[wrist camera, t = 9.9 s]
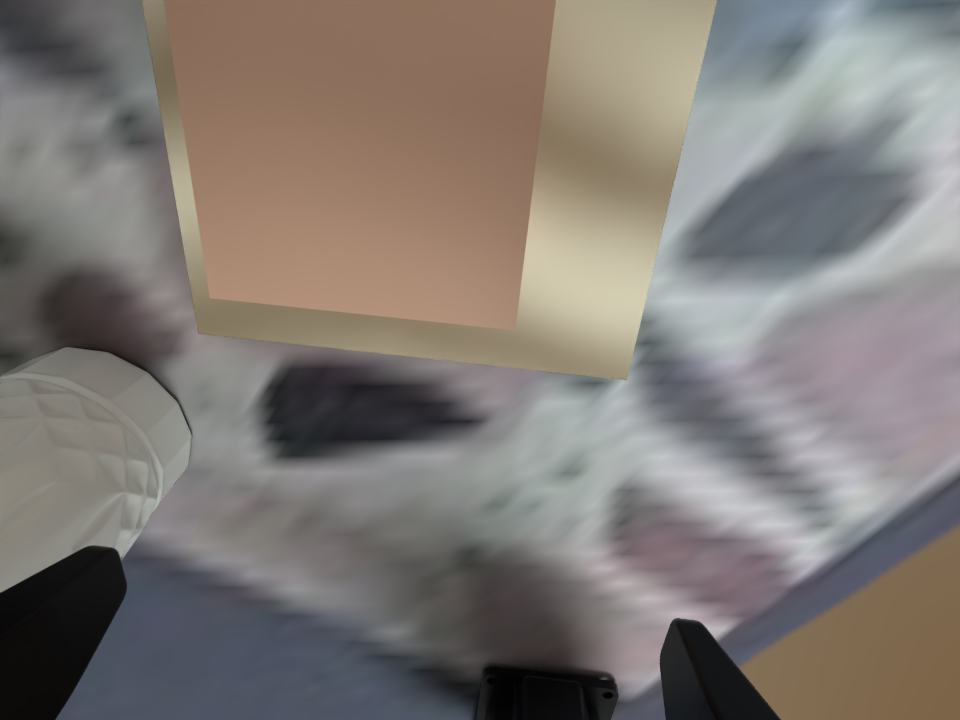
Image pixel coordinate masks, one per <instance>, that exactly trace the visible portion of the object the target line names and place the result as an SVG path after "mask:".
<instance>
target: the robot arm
mask: <svg viewBox="0 0 960 720" xmlns="http://www.w3.org/2000/svg"><path fill="white" fill-rule="evenodd" d="M126 590H127V580H126V576H125V573H124V569H123V566H122V562H121V558H120V555H119V552H118V551H117V550H116V549H115V548H112V547H105V546H97V545H91V546H87V547H84V548H82V549H80V550H78V551H77V552H75V553H73V554H71V555H69V556H67V557H65V558H64V559H62V560H60V561H58V562H56V563H54V564H52V565H51V566H49V567H47V568H45V569H43V570H41V571H39V572H38V573H36V574H34V575H32V576H30V577H28V578H27V579H25V580H23V581H21V582H19V583H17V584H15V585H14V586H12V587H10V588H8V589H6V590H4V591H2V592H1V593H0V720H55V719H56V718H57V716H58V715H59V713H60V712H61V710H62V709H63V707H64V705H65V704H66V702H67V701H68V699H69V698H70V696H71V694H72V693H73V691H74V689H75V688H76V686H77V684H78V682H79V681H80V679H81V677H82V675H83V673H84V672H85V670H86V668H87V666H88V664H89V662H90V660H91V659H92V657H93V655H94V653H95V651H96V649H97V648H98V646H99V644H100V642H101V640H102V638H103V636H104V635H105V633H106V631H107V629H108V627H109V625H110V623H111V622H112V620H113V618H114V616H115V614H116V612H117V611H118V609H119V607H120V605H121V603H122V601H123V599H124V597H125V594H126ZM660 672H661V680H662V689H663V698H664V707H665V716H666V720H781V719H780V718H779V717H778V716H777V714H776V713H775V712H774V711H773V710H772V708H771V707H770V706H769V705H768V703H767V702H766V701H765V700H764V699H763V697H762V696H761V695H760V694H759V692H758V691H757V690H756V689H755V687H754V686H753V685H752V684H751V682H750V681H749V680H748V679H747V678H746V676H745V675H744V674H743V673H742V671H741V670H740V669H739V668H738V667H737V665H736V664H735V663H734V662H733V660H732V659H731V658H730V657H729V655H728V654H727V653H726V652H725V651H724V649H723V648H722V647H721V646H720V644H719V643H718V642H717V641H716V640H715V638H714V637H713V636H712V635H711V633H710V632H709V631H708V630H707V628H706V627H705V626H704V625H703V624H702V623H700V622H699V621H695V620H688V619H680V618H676V619H674V620H673V621H672V622H671V624H670V627H669V630H668V632H667V635H666V638H665V641H664V644H663V647H662V650H661V654H660ZM617 699H618V688H617V685H616V683H614V682H612V681H608V680H599V679H591V678H583V677H575V676H567V675H559V674H550V673H542V672H534V671H526V670H518V669H510V668H501V667H486V668H485V669H483V672H482V678H481V685H480V693H479V700H478V707H477V715H476V720H611V717H612V714H613V711H614V708H615V705H616V702H617Z"/></svg>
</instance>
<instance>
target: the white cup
mask: <svg viewBox="0 0 960 720" xmlns="http://www.w3.org/2000/svg"><path fill="white" fill-rule="evenodd" d="M191 438H192V435H191V432H190V430H189V427H188V425H187V423H186V420H185V418H184V416H183V414H182V411H181V409H180V407H179V404H178V402H177V401H176V400H175V399H174V398H173V397H172V396H171V395H170V394H169V393H168V392H167V391H166V390H165V389H164V388H163V387H162V386H161V385H160V384H159V383H158V382H157V381H156V380H155V379H154V378H153V377H152V376H151V375H150V374H149V373H148V372H146V371H144V370H142V369H140V368H138V367H136V366H134V365H133V364H131V363H129V362H127V361H125V360H123V359H121V358H119V357H117V356H115V355H113V354H111V353H109V352H103V351H95V350H87V349H79V348H71V347H65V348H62V349H59V350H56V351H54V352H51V353H48V354H45V355H42V356H39V357H36V358H34V359H31V360H29V361H27V362H25V363H24V364H22V365H20V366H18V367H16V368H14V369H12V370H10V371H8V372H6V373H5V374H3V375H1V376H0V593H1V592H2V591H4V590H6V589H8V588H10V587H12V586H14V585H15V584H17V583H19V582H21V581H23V580H25V579H27V578H28V577H30V576H32V575H34V574H36V573H38V572H39V571H41V570H43V569H45V568H47V567H49V566H51V565H52V564H54V563H56V562H58V561H60V560H62V559H64V558H65V557H67V556H69V555H71V554H73V553H75V552H77V551H78V550H80V549H82V548H84V547H87V546H91V545H97V546H105V547H112V548H115V549H116V550H117V551H118V552H119V555H120V558H121V561H122V559H123V558H124V556H125V555H126V553H127V552H128V551H129V549H130V548H131V546H132V545H133V544H134V542H135V541H136V539H137V538H138V536H139V535H140V533H141V532H142V531H143V530H144V528H145V527H146V524H147V522H148V519H149V518H150V516H151V514H152V512H153V511H154V510H155V509H156V507H157V506H158V504H159V503H160V502H161V500H162V499H163V498H164V496H165V495H166V494H167V493H168V491H169V490H170V489H171V487H172V486H173V485H174V484H175V482H176V481H177V480H178V479H179V477H180V476H181V475H182V473H183V472H184V471H185V469H186V468H187V467H188V465H189V457H190V447H191Z"/></svg>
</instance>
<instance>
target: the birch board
mask: <svg viewBox="0 0 960 720" xmlns="http://www.w3.org/2000/svg"><path fill="white" fill-rule="evenodd" d="M716 4H717V0H556V5H555V13H554V21H553V29H552V37H551V45H550V54H549V62H548V70H547V78H546V86H545V94H544V102H543V110H542V118H541V127H540V135H539V143H538V151H537V159H536V167H535V175H534V183H533V191H532V200H531V208H530V216H529V224H528V232H527V240H526V248H525V256H524V264H523V273H522V281H521V289H520V297H519V305H518V313H517V321H516V329H515V330H506V329H497V328H487V327H478V326H468V325H459V324H449V323H440V322H430V321H421V320H411V319H402V318H392V317H383V316H373V315H364V314H354V313H345V312H336V311H326V310H317V309H307V308H298V307H288V306H279V305H269V304H260V303H250V302H241V301H231V300H222V299H212V298H210V297H209V291H208V284H207V278H206V271H205V265H204V258H203V252H202V245H201V239H200V233H199V226H198V220H197V213H196V207H195V200H194V194H193V187H192V181H191V174H190V168H189V162H188V155H187V149H186V142H185V136H184V129H183V123H182V116H181V110H180V103H179V97H178V91H177V84H176V78H175V71H174V65H173V58H172V52H171V45H170V39H169V32H168V26H167V20H166V13H165V7H164V0H142V5H143V11H144V17H145V23H146V28H147V34H148V40H149V46H150V52H151V58H152V64H153V70H154V76H155V81H156V87H157V93H158V99H159V105H160V111H161V117H162V123H163V129H164V135H165V140H166V146H167V152H168V158H169V164H170V170H171V176H172V182H173V188H174V193H175V199H176V205H177V211H178V217H179V223H180V229H181V235H182V241H183V246H184V252H185V258H186V264H187V270H188V276H189V282H190V288H191V294H192V300H193V305H194V311H195V317H196V323H197V329H198V334H205V335H214V336H224V337H233V338H242V339H251V340H261V341H270V342H279V343H288V344H298V345H307V346H316V347H325V348H335V349H344V350H353V351H363V352H372V353H381V354H390V355H400V356H409V357H418V358H427V359H437V360H446V361H455V362H464V363H474V364H483V365H492V366H501V367H511V368H520V369H529V370H538V371H548V372H557V373H566V374H575V375H585V376H594V377H603V378H612V379H622V380H627V377H628V373H629V369H630V364H631V360H632V356H633V352H634V348H635V343H636V339H637V335H638V331H639V327H640V323H641V318H642V314H643V310H644V306H645V302H646V297H647V293H648V289H649V285H650V281H651V276H652V272H653V268H654V264H655V260H656V255H657V251H658V247H659V243H660V239H661V234H662V230H663V226H664V222H665V218H666V213H667V209H668V205H669V201H670V197H671V192H672V188H673V184H674V180H675V176H676V171H677V167H678V163H679V159H680V155H681V150H682V146H683V142H684V138H685V134H686V129H687V125H688V121H689V117H690V113H691V108H692V104H693V100H694V96H695V92H696V87H697V83H698V79H699V75H700V71H701V66H702V62H703V58H704V54H705V50H706V45H707V41H708V37H709V33H710V29H711V24H712V20H713V16H714V12H715V8H716Z"/></svg>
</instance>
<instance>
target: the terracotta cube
mask: <svg viewBox="0 0 960 720" xmlns="http://www.w3.org/2000/svg"><path fill="white" fill-rule="evenodd" d="M555 5H556V0H164V7H165V13H166V20H167V26H168V32H169V39H170V45H171V52H172V58H173V65H174V71H175V78H176V84H177V91H178V97H179V103H180V110H181V116H182V123H183V129H184V136H185V142H186V149H187V155H188V162H189V168H190V174H191V181H192V187H193V194H194V200H195V207H196V213H197V220H198V226H199V233H200V239H201V245H202V252H203V258H204V265H205V271H206V278H207V284H208V291H209V297H210V298H212V299H222V300H231V301H241V302H250V303H260V304H269V305H279V306H288V307H298V308H307V309H317V310H326V311H336V312H345V313H354V314H364V315H373V316H383V317H392V318H402V319H411V320H421V321H430V322H440V323H449V324H459V325H468V326H478V327H487V328H497V329H506V330H515V329H516V321H517V313H518V305H519V297H520V289H521V281H522V273H523V264H524V256H525V248H526V240H527V232H528V224H529V216H530V208H531V200H532V191H533V183H534V175H535V167H536V159H537V151H538V143H539V135H540V127H541V118H542V110H543V102H544V94H545V86H546V78H547V70H548V62H549V54H550V45H551V37H552V29H553V21H554V13H555Z"/></svg>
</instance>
